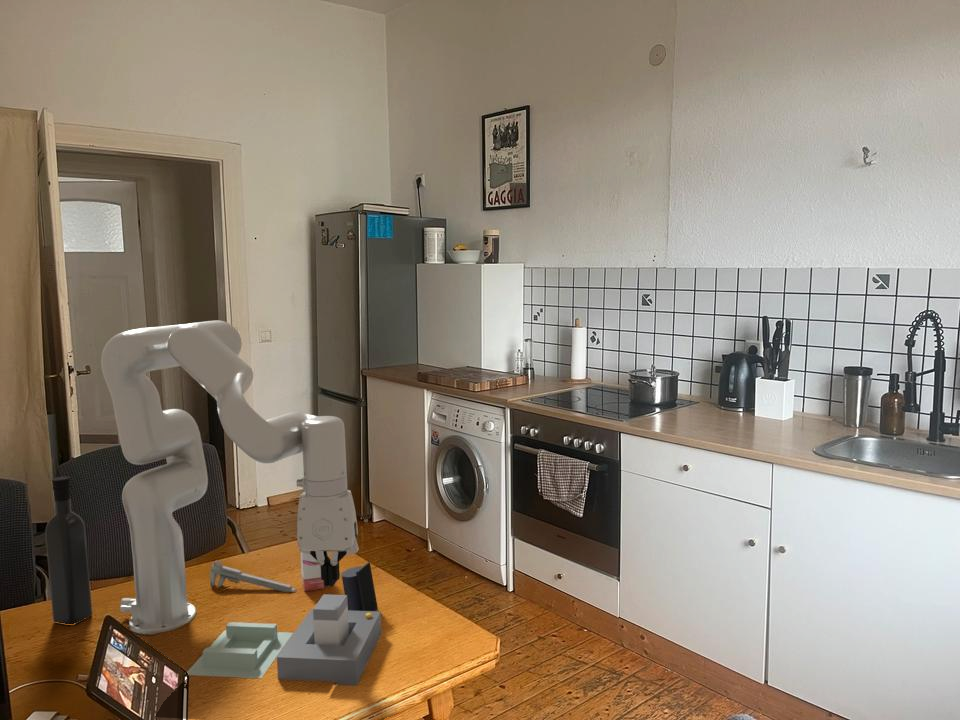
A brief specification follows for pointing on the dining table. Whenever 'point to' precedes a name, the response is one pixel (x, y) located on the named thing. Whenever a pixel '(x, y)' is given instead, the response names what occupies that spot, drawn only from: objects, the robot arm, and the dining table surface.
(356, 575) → the speaker
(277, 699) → the dining table surface
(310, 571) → the ink cartridge box
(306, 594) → the dining table surface
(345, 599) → the plug
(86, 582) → the wine bottle
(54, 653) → the dining table surface
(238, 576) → the caliper
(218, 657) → the pale green cradle tray
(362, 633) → the block
